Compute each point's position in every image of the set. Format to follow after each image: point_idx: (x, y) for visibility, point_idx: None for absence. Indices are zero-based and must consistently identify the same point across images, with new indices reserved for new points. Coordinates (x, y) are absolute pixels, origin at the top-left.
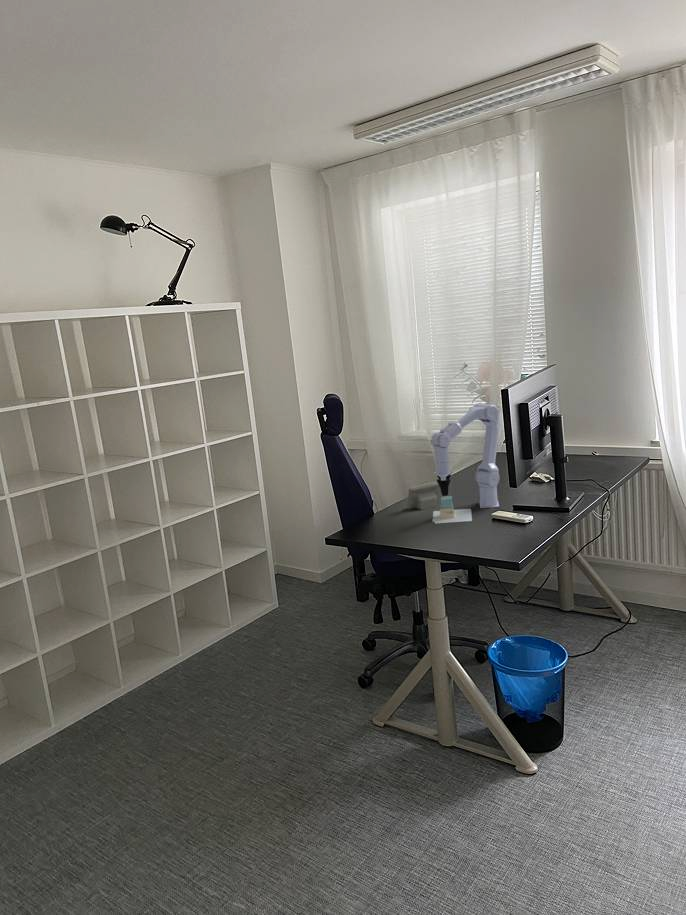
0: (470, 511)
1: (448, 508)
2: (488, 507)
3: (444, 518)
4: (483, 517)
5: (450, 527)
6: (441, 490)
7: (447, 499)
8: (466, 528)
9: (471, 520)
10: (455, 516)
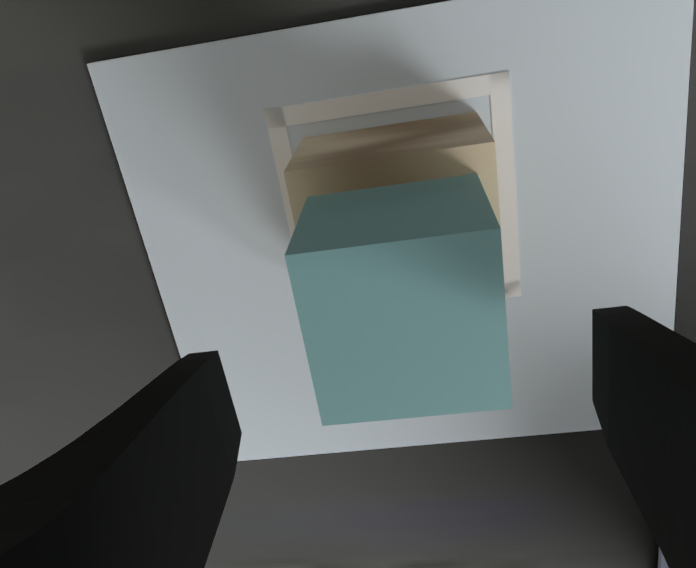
0: (552, 428)
1: None
2: (659, 561)
3: None
4: (354, 529)
5: (17, 288)
6: (109, 426)
7: (311, 361)
8: (14, 427)
9: None
10: None
